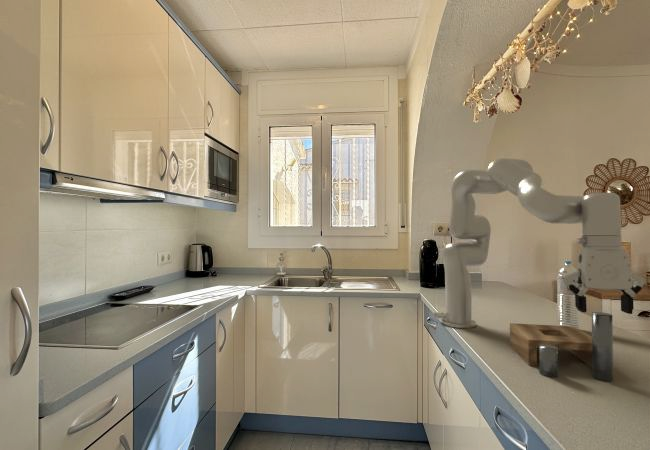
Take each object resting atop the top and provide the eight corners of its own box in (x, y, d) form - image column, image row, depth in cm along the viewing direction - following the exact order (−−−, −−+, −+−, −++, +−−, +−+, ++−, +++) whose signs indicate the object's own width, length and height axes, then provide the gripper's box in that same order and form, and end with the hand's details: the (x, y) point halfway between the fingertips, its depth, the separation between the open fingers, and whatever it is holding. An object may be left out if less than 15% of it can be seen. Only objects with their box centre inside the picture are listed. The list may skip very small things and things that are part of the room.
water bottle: (558, 330, 123) (558, 261, 123) (556, 325, 129) (555, 259, 129) (582, 333, 120) (581, 262, 120) (578, 328, 126) (577, 260, 126)
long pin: (597, 381, 83) (597, 315, 83) (589, 374, 87) (588, 311, 87) (616, 382, 82) (616, 316, 82) (607, 375, 86) (606, 312, 86)
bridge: (528, 365, 93) (528, 339, 93) (510, 345, 108) (509, 323, 108) (604, 370, 89) (604, 344, 89) (574, 349, 104) (573, 326, 104)
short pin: (543, 376, 86) (542, 349, 86) (537, 370, 90) (536, 343, 90) (561, 378, 85) (560, 350, 85) (554, 371, 89) (553, 344, 89)
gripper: (569, 243, 83) (571, 314, 82) (653, 243, 79) (656, 317, 79) (555, 242, 90) (557, 307, 90) (632, 242, 86) (634, 309, 86)
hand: (603, 311), depth 84 cm, fingers open, 9 cm apart
